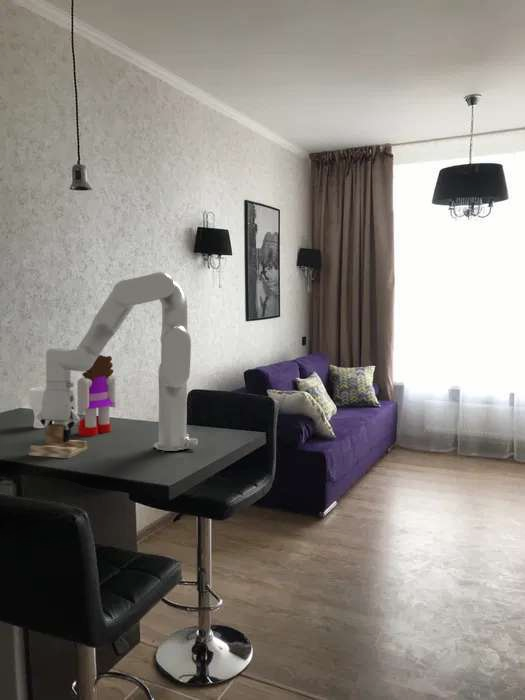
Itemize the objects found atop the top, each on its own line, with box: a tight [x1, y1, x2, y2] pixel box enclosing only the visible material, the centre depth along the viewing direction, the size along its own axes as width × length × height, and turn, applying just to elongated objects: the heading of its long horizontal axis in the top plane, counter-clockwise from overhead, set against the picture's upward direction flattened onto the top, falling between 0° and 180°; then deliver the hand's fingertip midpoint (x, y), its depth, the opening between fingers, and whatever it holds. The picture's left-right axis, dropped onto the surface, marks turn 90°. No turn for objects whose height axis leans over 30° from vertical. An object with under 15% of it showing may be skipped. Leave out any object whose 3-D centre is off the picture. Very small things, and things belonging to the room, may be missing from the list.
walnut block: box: [45, 422, 65, 444], centre depth 187 cm, size 6×6×6 cm
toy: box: [76, 354, 116, 437], centre depth 215 cm, size 18×9×30 cm, turn 149°
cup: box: [28, 386, 55, 429], centre depth 224 cm, size 11×11×15 cm
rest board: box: [28, 439, 88, 459], centre depth 187 cm, size 14×12×3 cm
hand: (58, 439), depth 187 cm, fingers closed on walnut block, 5 cm apart
